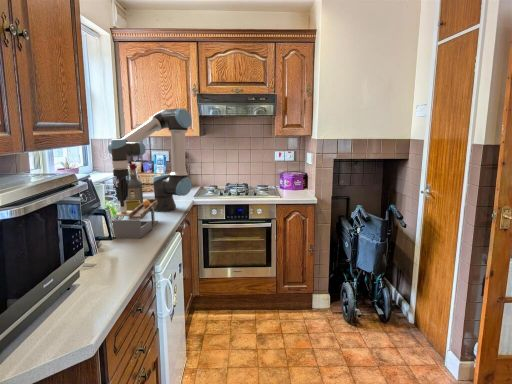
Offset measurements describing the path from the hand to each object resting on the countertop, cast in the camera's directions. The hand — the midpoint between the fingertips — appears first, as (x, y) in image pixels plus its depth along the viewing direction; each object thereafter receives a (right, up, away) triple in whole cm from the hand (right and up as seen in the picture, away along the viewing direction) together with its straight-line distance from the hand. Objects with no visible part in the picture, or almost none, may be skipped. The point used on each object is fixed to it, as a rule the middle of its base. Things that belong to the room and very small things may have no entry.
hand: (123, 212), depth 195 cm
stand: (+10, -7, +7) cm, 14 cm away
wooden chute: (+5, -1, +7) cm, 8 cm away
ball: (+10, +4, +8) cm, 14 cm away
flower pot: (-4, -4, +27) cm, 28 cm away
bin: (+8, -11, -10) cm, 17 cm away
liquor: (-10, 0, +48) cm, 49 cm away
